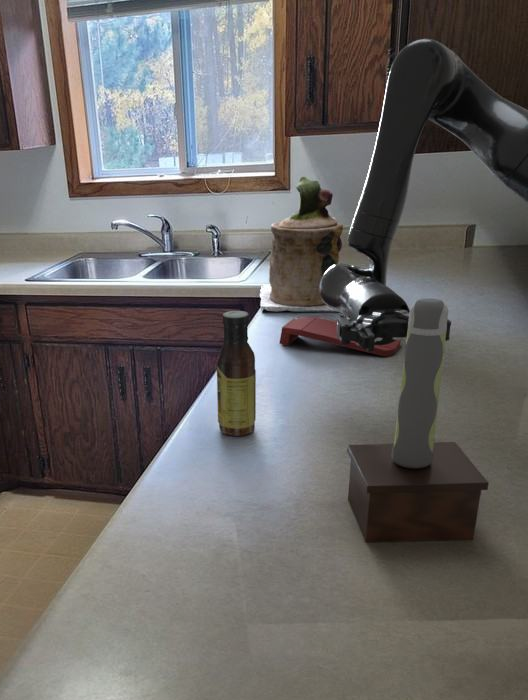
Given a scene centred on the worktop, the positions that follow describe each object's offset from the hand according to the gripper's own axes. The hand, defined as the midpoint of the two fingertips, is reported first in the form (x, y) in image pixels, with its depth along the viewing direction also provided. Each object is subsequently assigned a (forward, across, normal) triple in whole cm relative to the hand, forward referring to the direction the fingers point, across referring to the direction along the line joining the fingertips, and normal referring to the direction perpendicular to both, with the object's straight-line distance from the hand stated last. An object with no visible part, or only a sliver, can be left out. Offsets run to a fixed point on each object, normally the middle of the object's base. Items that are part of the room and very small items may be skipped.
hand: (405, 343), depth 93 cm
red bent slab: (-70, +6, +21) cm, 74 cm away
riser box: (+9, 0, +21) cm, 22 cm away
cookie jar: (-113, +5, +21) cm, 115 cm away
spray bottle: (+8, 0, +13) cm, 15 cm away
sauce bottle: (-22, -20, +21) cm, 37 cm away
